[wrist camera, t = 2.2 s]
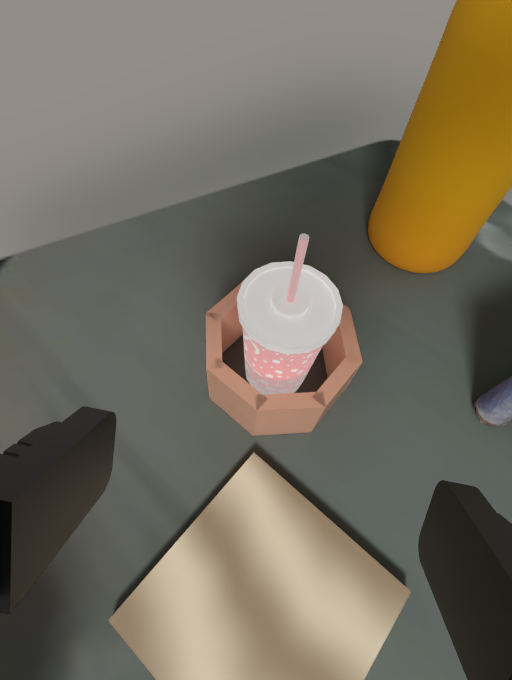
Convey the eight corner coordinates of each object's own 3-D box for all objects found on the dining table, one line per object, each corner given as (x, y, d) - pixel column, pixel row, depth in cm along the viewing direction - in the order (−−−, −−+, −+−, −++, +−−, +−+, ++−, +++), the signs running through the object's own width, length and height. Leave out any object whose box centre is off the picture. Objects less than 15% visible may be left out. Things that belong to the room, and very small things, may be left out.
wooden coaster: (253, 455, 27) (253, 452, 26) (405, 591, 23) (411, 591, 22) (111, 618, 22) (108, 620, 21) (278, 823, 18) (281, 833, 17)
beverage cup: (238, 333, 32) (243, 187, 19) (313, 339, 32) (364, 198, 20) (231, 404, 28) (232, 283, 16) (314, 411, 29) (376, 295, 16)
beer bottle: (392, 195, 41) (638, -376, 16) (474, 236, 39) (913, -364, 14) (347, 243, 37) (582, -413, 12) (435, 293, 35) (955, -405, 10)
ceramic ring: (266, 296, 34) (272, 255, 29) (364, 366, 31) (386, 333, 26) (181, 374, 29) (173, 340, 25) (285, 464, 26) (295, 444, 22)
